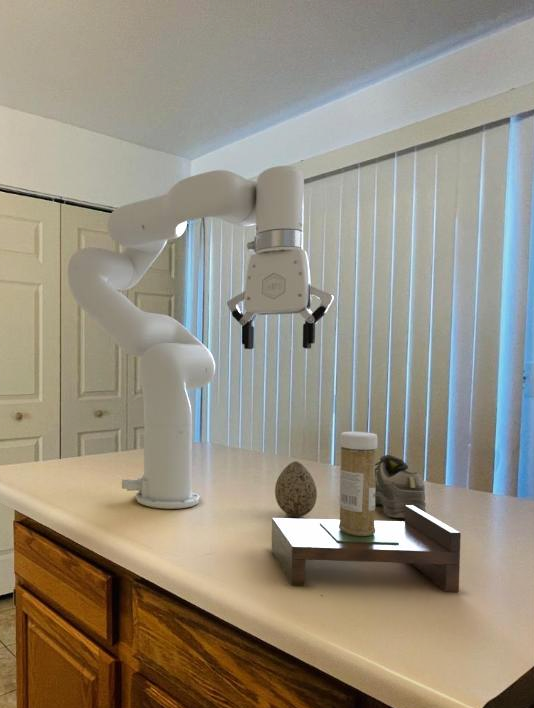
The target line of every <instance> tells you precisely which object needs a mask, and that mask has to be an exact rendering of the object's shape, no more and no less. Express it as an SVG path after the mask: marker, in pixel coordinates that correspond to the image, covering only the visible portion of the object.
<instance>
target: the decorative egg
mask: <svg viewBox="0 0 534 708" xmlns="http://www.w3.org/2000/svg"><path fill="white" fill-rule="evenodd" d="M274 496H275V501H276V503H277V505H278V507H279V508H280V510H282V512H284V513H285V514H287V515H289V516H290V517H294V518H295V517H296V518H299V517H300V518H301V517H303V516H306V515H307V514H310V512H311V511H312V510H313V509H314V507H315V505H316V502H317V497H318V491H317V486H316V483H315V480H314V478H313V476H312V474H311V473H310V472H309V470H308V468H307V467H306V466H304V465H303V464H302V463H301V462H300V461H292V462H290V463H288V465H287V466H285V467H284V468H283V469H282V471H281V472H280V474H279V475H278V478H277V479H276V482H275V487H274Z"/></svg>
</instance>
